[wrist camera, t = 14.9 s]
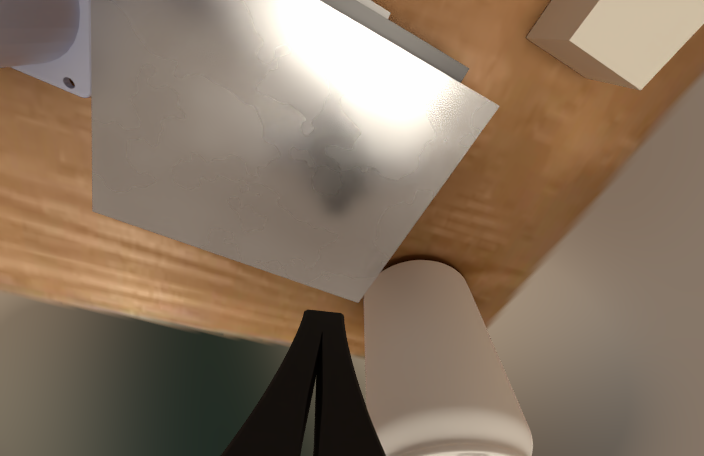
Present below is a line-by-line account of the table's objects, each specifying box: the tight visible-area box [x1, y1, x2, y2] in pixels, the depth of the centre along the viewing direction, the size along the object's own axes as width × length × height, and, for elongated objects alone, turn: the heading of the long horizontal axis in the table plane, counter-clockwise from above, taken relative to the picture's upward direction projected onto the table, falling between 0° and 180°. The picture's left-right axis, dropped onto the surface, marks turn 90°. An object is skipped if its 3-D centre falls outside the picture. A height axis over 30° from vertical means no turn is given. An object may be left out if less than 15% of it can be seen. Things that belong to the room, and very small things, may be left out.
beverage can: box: [364, 260, 533, 456], centre depth 19 cm, size 8×8×12 cm
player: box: [91, 0, 499, 303], centre depth 15 cm, size 14×12×5 cm
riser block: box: [526, 0, 704, 90], centre depth 12 cm, size 4×4×4 cm
